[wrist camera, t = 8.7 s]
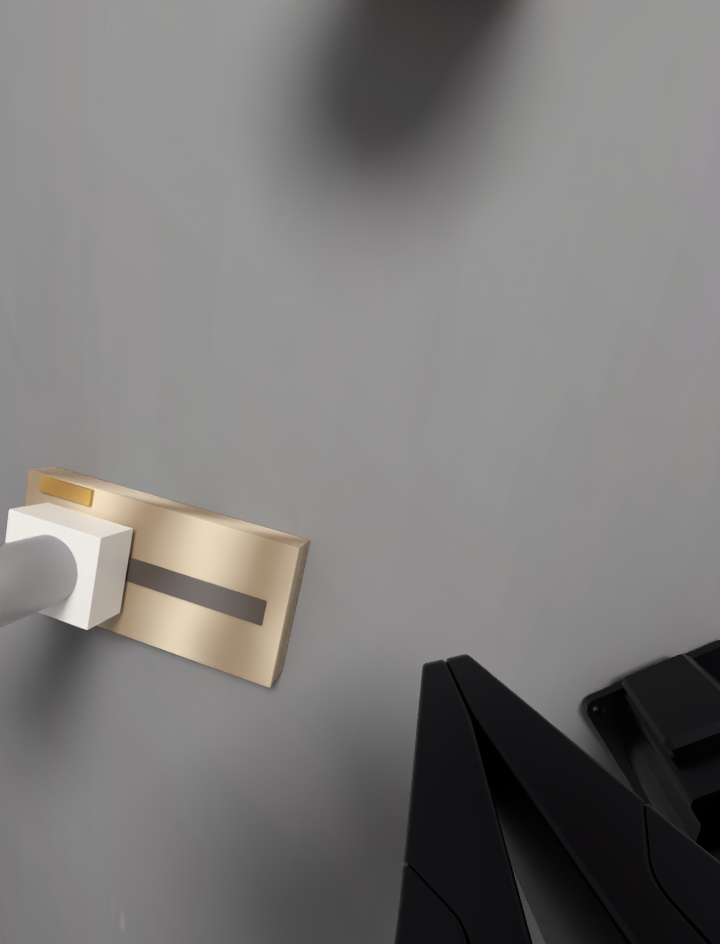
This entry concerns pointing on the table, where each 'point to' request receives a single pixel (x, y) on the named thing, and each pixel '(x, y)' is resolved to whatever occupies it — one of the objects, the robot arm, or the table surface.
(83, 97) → the table surface
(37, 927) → the table surface
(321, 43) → the table surface
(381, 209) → the table surface
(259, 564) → the fader track
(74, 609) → the lever
